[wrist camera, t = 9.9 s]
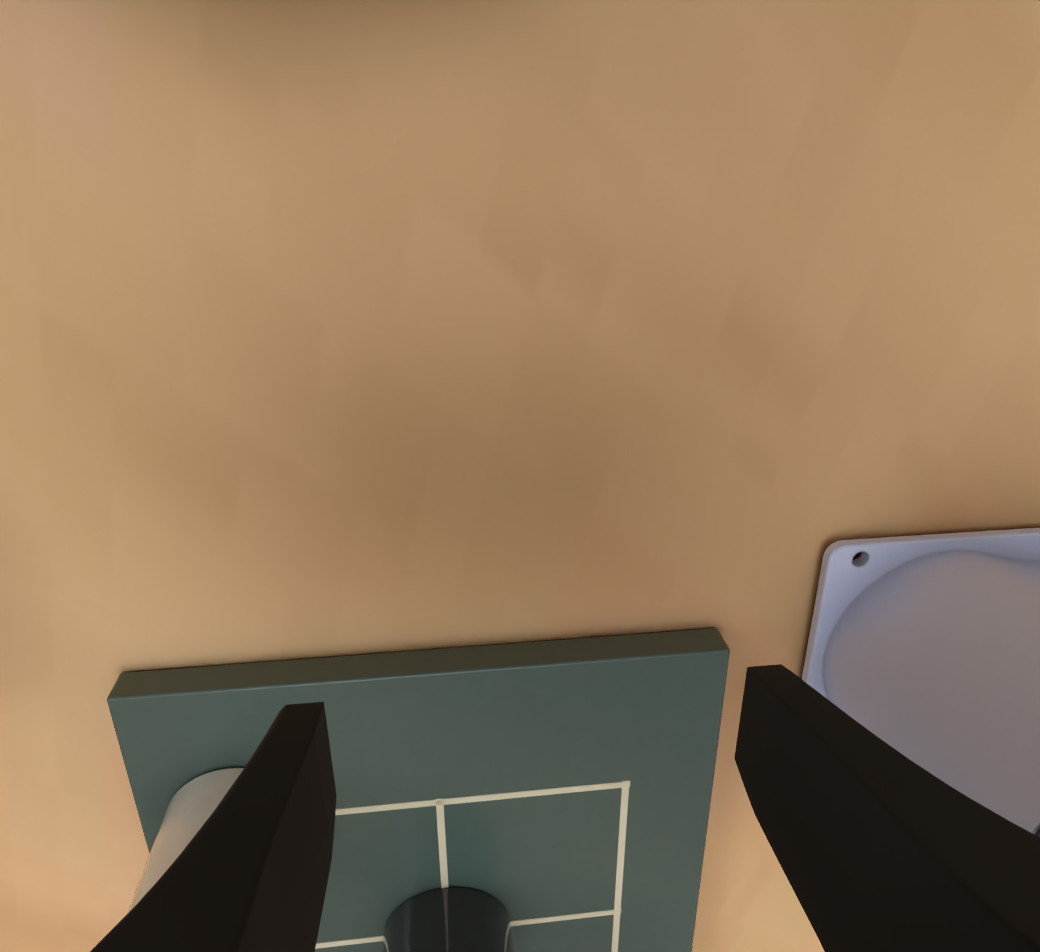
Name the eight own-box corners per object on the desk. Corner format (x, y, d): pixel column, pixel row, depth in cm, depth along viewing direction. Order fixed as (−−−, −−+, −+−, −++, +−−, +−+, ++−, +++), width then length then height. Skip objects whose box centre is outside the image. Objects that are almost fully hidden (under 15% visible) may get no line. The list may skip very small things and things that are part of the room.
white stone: (306, 760, 23) (284, 877, 19) (322, 865, 25) (305, 990, 21) (152, 774, 22) (100, 896, 19) (179, 880, 24) (137, 1010, 21)
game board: (717, 626, 24) (731, 651, 23) (666, 1053, 33) (675, 1086, 32) (120, 671, 22) (104, 700, 21) (236, 1111, 31) (229, 1148, 30)
